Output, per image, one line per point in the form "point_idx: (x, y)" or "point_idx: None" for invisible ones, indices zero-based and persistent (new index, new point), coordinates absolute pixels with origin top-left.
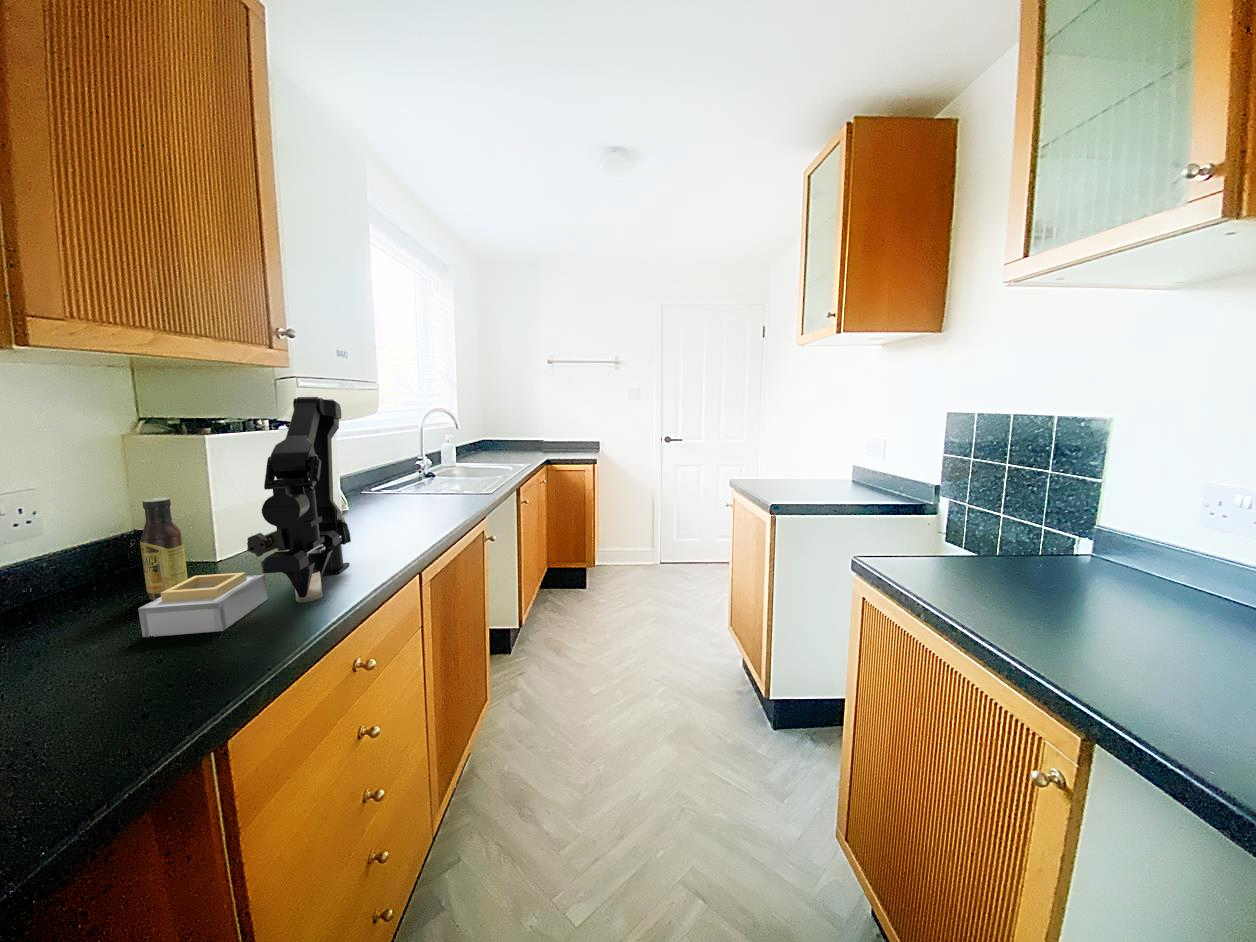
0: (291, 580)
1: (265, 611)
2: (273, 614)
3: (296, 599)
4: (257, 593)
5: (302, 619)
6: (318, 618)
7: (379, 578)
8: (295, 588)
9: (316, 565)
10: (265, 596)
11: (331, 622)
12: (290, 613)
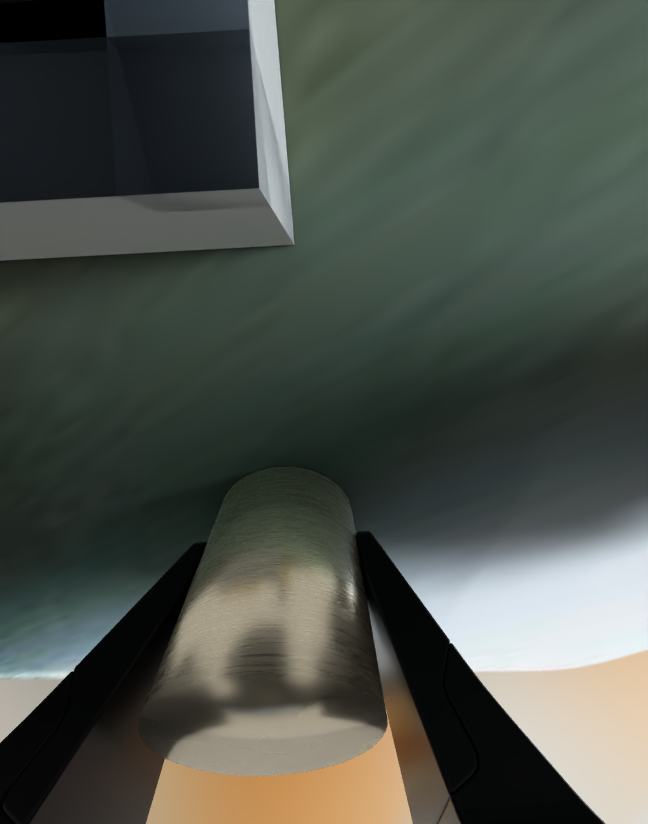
0: (32, 723)
1: (56, 382)
2: (29, 458)
3: (233, 491)
4: (68, 242)
5: (23, 600)
6: (52, 638)
7: (489, 654)
8: (131, 614)
9: (415, 796)
10: (259, 243)
11: (34, 676)
12: (69, 530)
